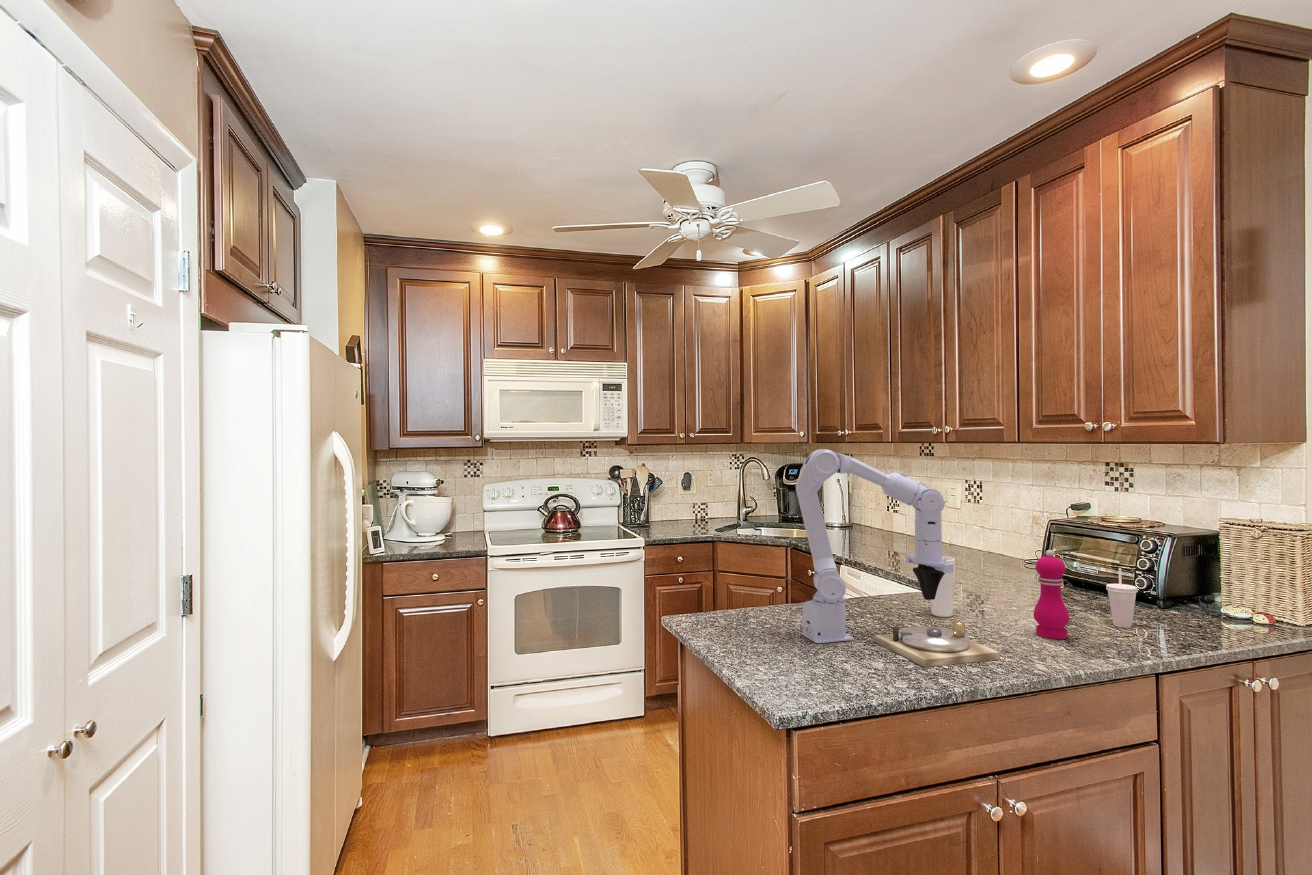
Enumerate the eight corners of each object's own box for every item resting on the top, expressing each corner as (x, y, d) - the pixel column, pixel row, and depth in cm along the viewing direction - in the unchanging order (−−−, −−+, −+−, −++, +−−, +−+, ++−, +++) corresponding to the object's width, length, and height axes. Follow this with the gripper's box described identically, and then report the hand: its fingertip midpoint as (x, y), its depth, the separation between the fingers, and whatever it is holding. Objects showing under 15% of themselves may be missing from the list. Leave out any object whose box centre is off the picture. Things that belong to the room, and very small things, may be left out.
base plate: (924, 667, 134) (924, 644, 134) (874, 641, 151) (874, 622, 151) (999, 659, 138) (999, 637, 138) (942, 635, 156) (942, 616, 156)
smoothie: (1128, 622, 165) (1127, 566, 165) (1144, 629, 159) (1143, 570, 159) (1101, 622, 166) (1100, 565, 166) (1116, 629, 159) (1115, 570, 159)
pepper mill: (1075, 640, 150) (1073, 552, 151) (1040, 639, 152) (1038, 551, 152) (1062, 631, 157) (1060, 547, 158) (1029, 630, 159) (1027, 547, 159)
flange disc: (905, 649, 139) (904, 628, 139) (896, 631, 153) (896, 611, 153) (976, 653, 136) (976, 631, 136) (961, 634, 150) (961, 614, 150)
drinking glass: (952, 619, 169) (951, 561, 169) (925, 616, 173) (924, 558, 174) (959, 614, 175) (958, 557, 175) (932, 610, 179) (931, 555, 179)
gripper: (964, 543, 147) (965, 605, 146) (923, 535, 161) (924, 591, 161) (937, 545, 145) (938, 607, 145) (898, 536, 159) (898, 593, 159)
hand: (929, 599), depth 153 cm, fingers closed
